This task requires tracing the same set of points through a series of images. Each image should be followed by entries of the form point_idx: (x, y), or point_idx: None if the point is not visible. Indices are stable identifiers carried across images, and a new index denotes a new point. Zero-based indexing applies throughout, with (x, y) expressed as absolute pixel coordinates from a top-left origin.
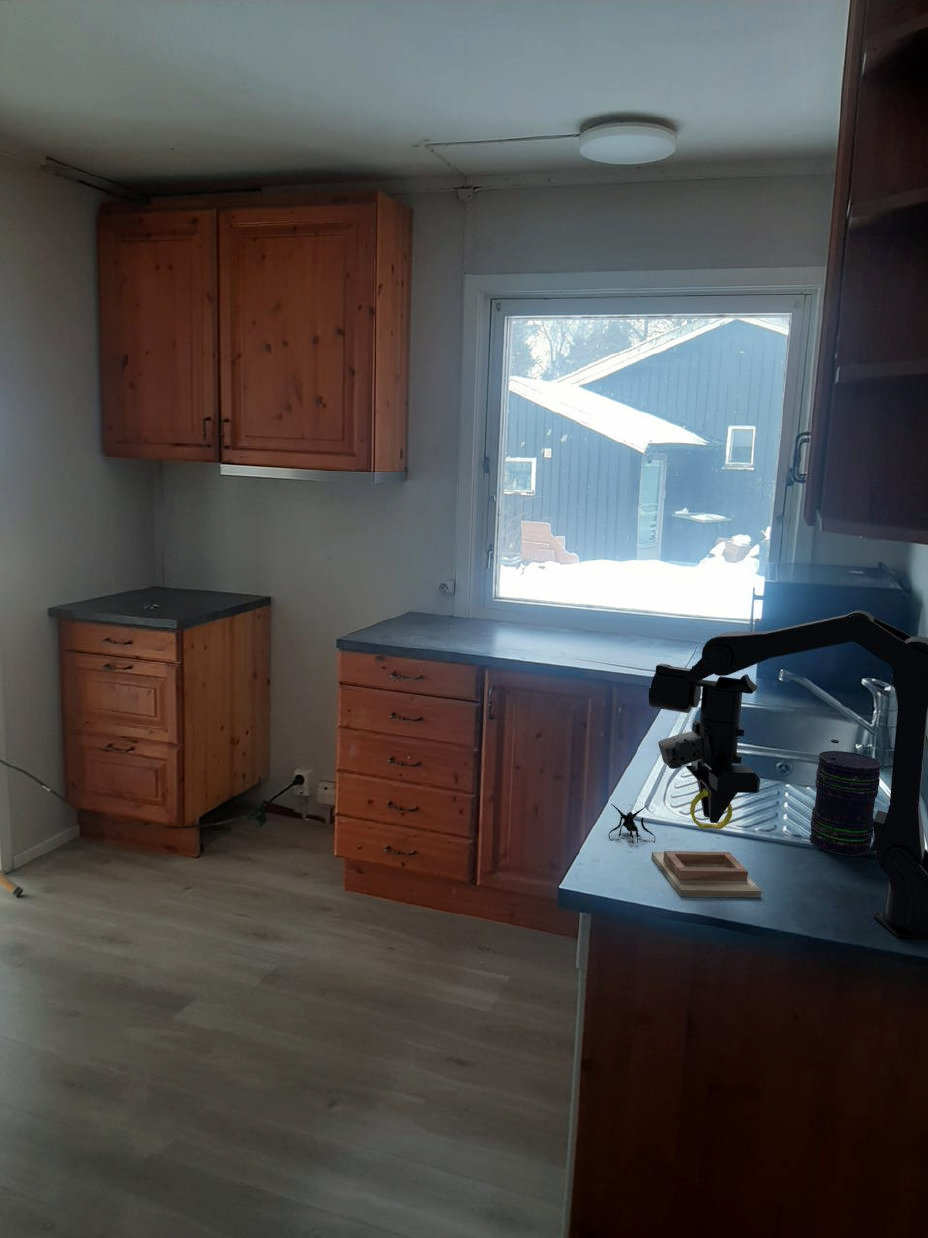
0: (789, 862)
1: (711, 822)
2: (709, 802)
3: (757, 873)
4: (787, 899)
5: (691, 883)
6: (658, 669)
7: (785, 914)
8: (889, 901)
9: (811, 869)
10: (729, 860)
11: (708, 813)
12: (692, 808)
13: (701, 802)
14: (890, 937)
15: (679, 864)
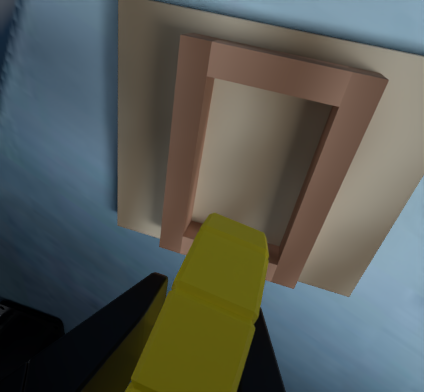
0: (280, 372)
1: (154, 275)
2: (55, 374)
3: None
4: (119, 257)
5: (166, 66)
6: None
7: (55, 210)
8: (4, 348)
9: None
10: None
11: None
12: (193, 258)
13: (278, 382)
14: (5, 293)
15: (236, 67)
